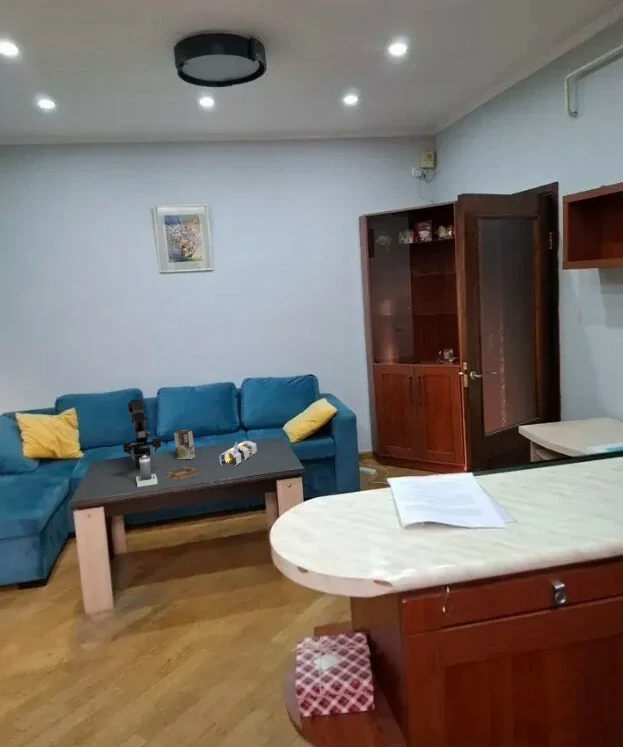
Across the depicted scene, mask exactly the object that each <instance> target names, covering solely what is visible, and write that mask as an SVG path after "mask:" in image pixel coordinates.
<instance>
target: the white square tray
mask: <svg viewBox="0 0 623 747" xmlns="http://www.w3.org/2000/svg"><path fill="white" fill-rule="evenodd" d="M151 477H152V479H150V480H144V481H141V475H139V476H136V477H135V480H136V481H135V482H136V485H137V488H140V487H146V486H147V487H148V486H151V485H158V477H157V474H156V473H151Z"/></svg>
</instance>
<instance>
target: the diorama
mask: <svg viewBox="0 0 623 747" xmlns="http://www.w3.org/2000/svg"><path fill="white" fill-rule="evenodd" d="M234 442H235V441H234ZM257 450H258V448H257V443H255V442H253V441H251V440H244V441H241V442H240V443H237V441H236V442H235V443H234V445H233V447H231V448H229V449H228V450H226V451H224V452H223V453H221V454H220V455H219V463H220V465H221V466H223V465H225V464H228V463H230V462H231V461H230V460H232V459H233V458H235V457H236V458H235V459H236V462H235V463H236V464H235V465H234V467H235V466H236V465H238V464H239V463H240V464H241V462H242V454H241V453H244V459H243V460H245V461H246V459H247V458H248V459H249V457H250V456H251V457H253V456H254V455H256V453H257ZM249 453H252V454H249ZM253 454H254V455H253ZM252 455H253V456H252ZM248 459H247V460H248ZM233 460H234V459H233ZM233 460H232V461H233ZM229 461H230V462H229ZM227 462H228V463H227ZM240 464H239V465H240ZM239 465H238V466H239ZM236 467H237V466H236Z"/></svg>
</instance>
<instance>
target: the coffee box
mask: <svg viewBox="0 0 623 747" xmlns="http://www.w3.org/2000/svg"><path fill="white" fill-rule="evenodd" d="M173 436H174V443H175V445H174V446H175V454H176V460H177V459H191V460H193V459H194V458H196V450H195V440H194V430H193V429H178V430H176V431H174V433H173ZM192 458H193V459H192Z"/></svg>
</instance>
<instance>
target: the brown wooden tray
mask: <svg viewBox="0 0 623 747" xmlns="http://www.w3.org/2000/svg"><path fill="white" fill-rule="evenodd" d="M199 474H200V472H198V470H197V469H195V468H191V467H186V466H181V467H178V468H176V469H172V470H170V471H166V475H164V477H165V478H168V479H169V478H170V479H172V480H173V479H174V480H178V481H182V480H185V479H188V478H190V477H194V476H195V475H199Z"/></svg>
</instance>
